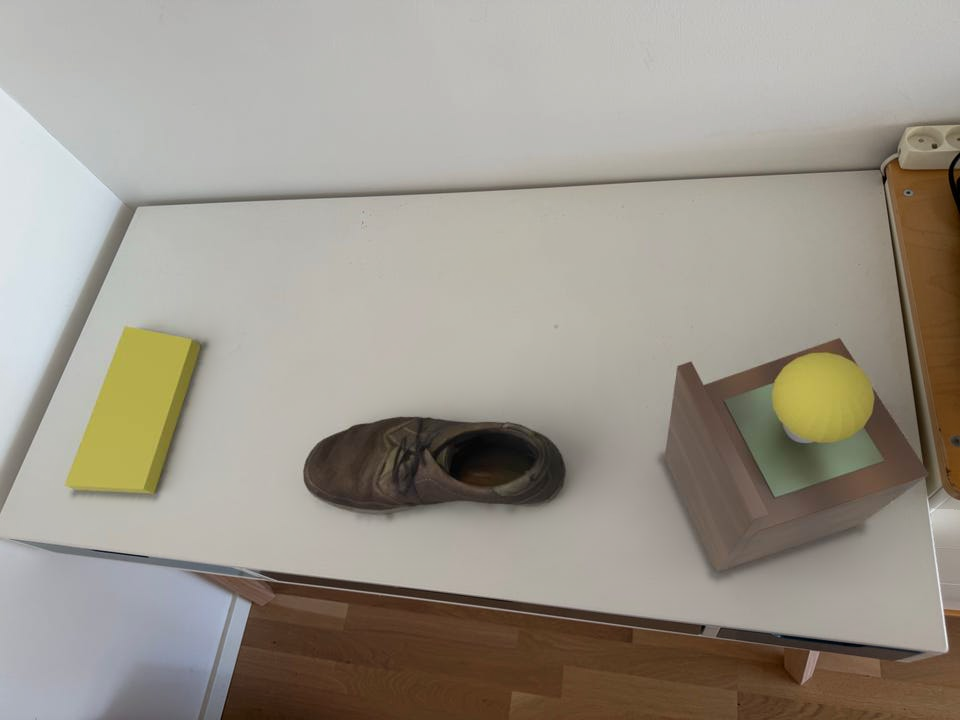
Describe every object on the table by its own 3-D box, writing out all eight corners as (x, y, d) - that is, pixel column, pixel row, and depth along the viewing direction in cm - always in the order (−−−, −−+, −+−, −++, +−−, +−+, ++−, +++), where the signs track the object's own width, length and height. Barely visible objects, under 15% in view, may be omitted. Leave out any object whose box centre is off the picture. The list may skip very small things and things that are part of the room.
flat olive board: (154, 493, 85) (205, 331, 95) (143, 489, 83) (196, 324, 93) (76, 489, 88) (134, 333, 98) (64, 485, 86) (124, 325, 96)
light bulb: (857, 411, 53) (901, 357, 45) (829, 482, 51) (870, 440, 43) (774, 380, 56) (800, 323, 47) (744, 446, 54) (766, 400, 45)
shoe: (331, 416, 84) (297, 385, 76) (571, 437, 76) (563, 404, 68) (306, 507, 79) (266, 485, 71) (560, 539, 72) (550, 519, 63)
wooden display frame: (794, 413, 72) (861, 301, 51) (859, 525, 66) (964, 449, 45) (664, 458, 73) (677, 365, 52) (715, 572, 67) (753, 520, 46)
